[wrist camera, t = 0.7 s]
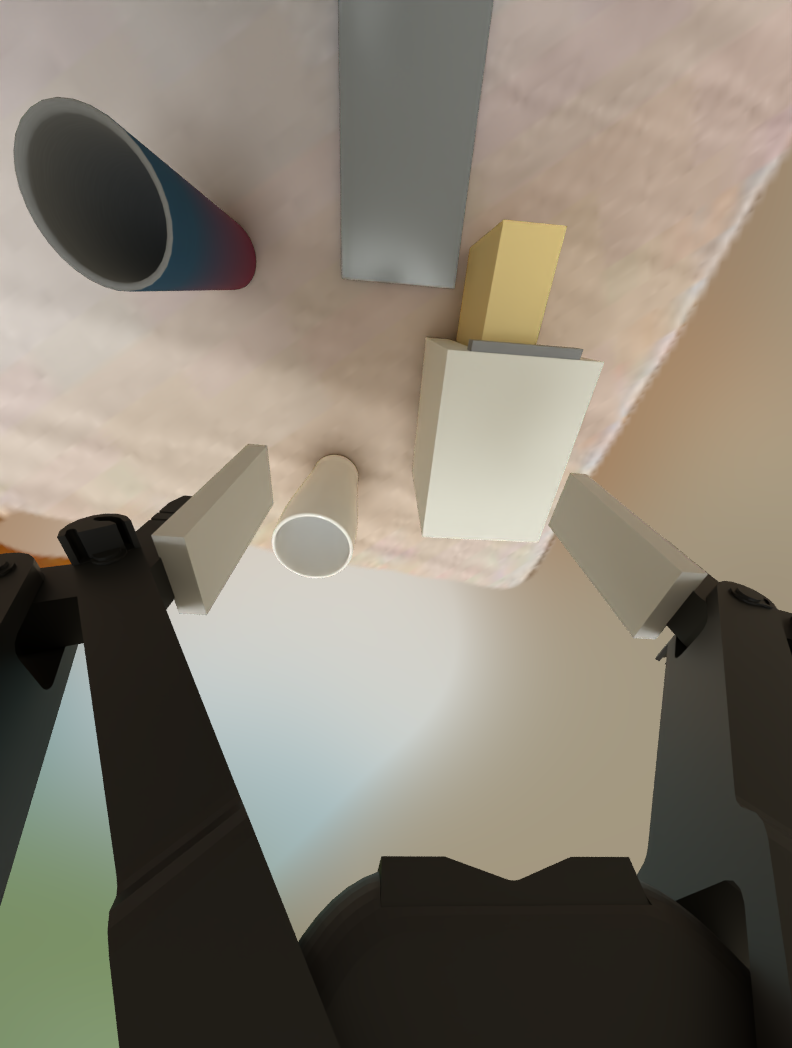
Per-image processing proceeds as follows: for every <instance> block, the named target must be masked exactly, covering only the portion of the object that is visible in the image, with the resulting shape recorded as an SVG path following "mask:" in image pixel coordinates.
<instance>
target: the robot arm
mask: <svg viewBox="0 0 792 1048" xmlns="http://www.w3.org/2000/svg"><path fill="white" fill-rule="evenodd" d="M273 504H274V503H273V494H272V485H271V476H270V467H269V458H268V449H267V446H266V445H254V444H248V445H247V446H245V447H244V448H243V449H242V450H241V451H240V452H239V453H238V454H237V455H236V456H235V457H234V458H233V459H232V460H231V461H230V462H228V463H227V464H226V465H225V466H224V467H223V468H222V469H221V470H220V471H219V472H218V473H217V474H216V475H215V476H214V477H213V478H211V479H210V480H209V481H208V482H207V483H206V484H205V485H204V486H203V487H202V488H201V489H200V490H199V491H198V492H197V493H195V494H194V495H193V496H182V497H180V498H178V499H176V500H174V501H172V502H169V503H168V504H167V505H166V506H165V507H164V508H162V509H161V510H160V511H159V513H157V514H156V515H154V516H153V517H152V518H151V520H149V521H148V522H146V523H145V524H144V525H143V526H142V527H141V528H139V529H138V530H137V531H136V532H135V530H134V527H133V525H132V522H131V520H130V519H129V518H128V517H127V516H124V515H120V514H100V515H93V516H89V517H86V518H82V519H79V520H77V521H75V522H73V523H70V524H68V525H67V526H65V527H64V528H63V529H62V530H60V531H59V534H58V536H57V538H58V540H59V541H60V543H61V545H62V547H63V549H64V551H65V553H66V554H67V556H68V558H69V560H70V562H71V564H70V565H62V566H54V567H46V568H40V567H39V566H38V564H37V562H36V561H35V559H34V558H33V557H32V556H30V555H29V554H25V553H6V554H0V905H1V902H2V898H3V895H4V891H5V888H6V884H7V881H8V878H9V875H10V872H11V868H12V865H13V861H14V858H15V854H16V851H17V848H18V844H19V841H20V838H21V834H22V831H23V828H24V824H25V821H26V818H27V814H28V811H29V807H30V804H31V800H32V797H33V794H34V790H35V788H36V784H37V781H38V777H39V774H40V771H41V767H42V764H43V760H44V757H45V754H46V750H47V747H48V744H49V740H50V737H51V733H52V730H53V727H54V724H55V720H56V717H57V714H58V710H59V707H60V704H61V700H62V697H63V693H64V690H65V686H66V683H67V680H68V677H69V673H70V670H71V667H72V663H73V659H74V656H75V653H76V650H77V646H78V644H81V643H84V647H85V655H86V662H87V670H88V677H89V684H90V691H91V697H92V705H93V711H94V719H95V726H96V733H97V740H98V747H99V754H100V762H101V768H102V775H103V783H104V790H105V797H106V804H107V811H108V817H109V825H110V833H111V840H112V847H113V854H114V861H115V868H116V876H117V896H116V899H115V901H114V903H113V905H112V907H111V909H110V911H109V921H108V945H109V960H110V969H111V978H112V986H113V995H114V1004H115V1012H116V1021H117V1031H118V1040H119V1048H792V613H788V612H785V611H781V610H778V609H777V608H776V607H775V605H774V604H773V603H772V602H771V601H770V600H769V599H767V598H766V597H765V596H763V595H762V594H760V593H758V592H757V591H755V590H753V589H750V588H748V587H746V586H744V585H741V584H737V583H734V582H728V581H722V582H718V581H717V580H715V579H714V578H713V577H711V575H709V574H708V573H707V572H706V571H704V570H703V569H702V568H701V567H700V566H698V565H697V564H696V563H695V562H693V561H692V560H691V559H690V558H688V557H687V556H686V555H685V554H683V553H682V552H681V551H679V550H678V548H676V547H675V546H674V545H673V544H671V543H670V542H669V541H667V540H666V539H665V538H664V537H662V536H661V535H660V534H659V533H657V532H656V531H655V530H654V529H653V528H651V527H650V526H649V525H648V524H647V523H645V522H644V521H643V520H642V519H640V518H639V517H638V516H637V515H635V514H634V513H633V512H632V511H631V510H629V509H628V508H627V507H626V506H624V505H623V504H622V503H621V502H619V501H618V500H617V499H616V498H615V497H613V496H612V495H611V494H610V493H608V492H607V491H606V490H605V489H604V488H602V487H601V486H600V485H599V484H598V483H596V482H595V481H594V480H593V479H591V478H590V477H589V476H588V475H587V474H576V473H570V474H569V477H568V479H567V481H566V484H565V486H564V489H563V491H562V493H561V496H560V498H559V501H558V503H557V505H556V508H555V510H554V513H553V515H552V517H551V520H550V522H549V527H550V528H551V529H552V531H553V532H554V533H555V535H556V536H557V537H558V539H559V540H560V541H561V543H562V544H563V545H564V546H565V548H566V549H567V550H568V552H569V553H570V554H571V556H572V557H573V558H574V560H575V561H576V562H577V564H578V565H579V566H580V568H581V569H582V570H583V572H584V573H585V574H586V576H587V577H588V578H589V580H590V581H591V582H592V584H593V585H594V586H595V588H596V589H597V590H598V592H599V593H600V594H601V596H602V597H603V598H604V599H605V601H606V602H607V604H608V605H609V606H610V607H611V609H612V610H613V612H614V613H615V614H616V616H617V617H618V618H619V620H620V621H621V622H622V624H623V625H624V626H625V627H626V629H627V630H628V631H629V633H630V634H631V635H632V637H633V638H645V639H656V638H657V637H658V636H659V634H660V633H661V632H662V631H663V629H664V628H665V627H666V626H668V627H669V628H670V629H671V631H672V632H673V633H674V634H675V635H674V636H673V637H672V639H671V640H670V641H669V642H668V643H667V644H666V646H665V647H664V648H663V649H662V650H661V652H660V653H659V654H658V655H657V657H656V660H658V661H660V660H661V658H663V657H667V660H666V663H665V664H666V669H665V679H664V690H663V701H662V710H661V720H660V731H659V741H658V751H657V761H656V771H655V781H654V791H653V801H652V802H653V803H652V812H651V823H650V833H649V843H648V850H647V855H646V858H645V862H644V864H643V865H642V867H641V869H640V871H639V873H638V874H637V875H636V872H635V870H634V868H633V866H632V863H631V861H630V859H629V857H570V858H567V859H565V860H563V861H561V862H559V863H556V864H554V865H552V866H549V867H547V868H545V869H543V870H540V871H538V872H536V873H533V874H531V875H529V876H527V877H525V878H522V879H520V880H516V881H511V880H507V879H504V878H501V877H499V876H496V875H493V874H491V873H488V872H485V871H482V870H480V869H477V868H474V867H471V866H468V865H466V864H463V863H461V862H458V861H455V860H452V859H450V858H447V857H402V856H401V857H400V856H399V857H397V856H396V857H395V856H394V857H393V856H391V857H390V856H388V857H387V856H383V857H381V860H380V864H379V868H378V872H376V873H374V874H372V875H369V876H367V877H364V878H362V879H361V880H359V881H357V882H356V883H354V884H352V885H351V886H349V887H347V888H346V889H345V890H344V891H342V892H341V893H340V894H339V895H338V896H336V897H335V898H334V899H333V900H332V901H331V902H330V903H329V904H328V905H327V906H326V907H325V908H324V909H323V910H322V911H321V912H320V914H319V915H318V916H317V917H316V918H315V920H314V921H313V922H312V923H311V925H310V926H309V927H308V929H307V930H306V932H305V933H304V934H303V935H302V937H301V939H300V940H299V942H298V941H297V938H296V936H295V933H294V931H293V928H292V926H291V923H290V921H289V918H288V915H287V913H286V910H285V908H284V905H283V903H282V901H281V898H280V895H279V893H278V890H277V888H276V885H275V883H274V880H273V878H272V875H271V873H270V870H269V868H268V865H267V862H266V860H265V858H264V855H263V853H262V850H261V847H260V845H259V842H258V840H257V837H256V835H255V832H254V830H253V827H252V825H251V822H250V820H249V817H248V815H247V812H246V810H245V807H244V805H243V802H242V800H241V798H240V795H239V793H238V790H237V788H236V785H235V783H234V780H233V778H232V775H231V773H230V770H229V767H228V765H227V762H226V760H225V758H224V755H223V753H222V750H221V748H220V745H219V742H218V740H217V737H216V735H215V732H214V730H213V727H212V725H211V723H210V719H209V717H208V715H207V712H206V709H205V707H204V704H203V702H202V700H201V697H200V694H199V692H198V689H197V687H196V684H195V682H194V679H193V677H192V674H191V672H190V669H189V667H188V664H187V661H186V659H185V656H184V654H183V652H182V649H181V646H180V644H179V641H178V639H177V636H176V634H175V631H174V629H173V626H172V624H171V621H170V619H169V616H168V614H167V611H166V609H167V608H168V607H169V605H170V604H171V602H172V601H173V600H175V603H176V606H177V609H178V611H179V613H180V614H197V615H207V614H208V612H209V611H210V609H211V607H212V605H213V604H214V602H215V600H216V599H217V597H218V595H219V594H220V592H221V590H222V589H223V587H224V585H225V584H226V582H227V580H228V579H229V577H230V575H231V574H232V572H233V570H234V569H235V567H236V565H237V564H238V562H239V560H240V559H241V557H242V555H243V554H244V552H245V550H246V549H247V547H248V545H249V544H250V542H251V540H252V539H253V537H254V535H255V534H256V532H257V530H258V529H259V527H260V525H261V524H262V522H263V520H264V519H265V517H266V515H267V514H268V512H269V510H270V509H271V507H272V505H273Z"/></svg>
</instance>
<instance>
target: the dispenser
mask: <svg viewBox="0 0 792 1048" xmlns="http://www.w3.org/2000/svg"><path fill="white" fill-rule="evenodd" d="M582 352H583V349H578V348H570V347H557V346H545V345H533V344H521V343H509V342H496V341H484V340H472V339H469V342H468V346H466V345H463V344H460V343H458V342H455V341H453V340H450V339H440V338H428V337H426V342H425V352H424V361H423V371H422V380H421V390H420V400H419V409H418V419H417V428H416V438H415V447H414V457H413V466H412V474H413V481H414V487H415V494H416V500H417V507H418V513H419V520H420V526H421V533H422V537H432V538H452V539H473V540H494V541H514V542H535V543H538V541H539V538H540V536H541V533H542V530H543V528H544V525H545V522H546V519H547V517H548V514H549V511H550V509H551V506H552V503H553V500H554V498H555V495H556V492H557V489H558V487H559V484H560V481H561V479H562V476H563V473H564V470H565V468H566V465H567V462H568V460H569V457H570V454H571V451H572V449H573V446H574V443H575V440H576V438H577V435H578V432H579V430H580V427H581V424H582V421H583V419H584V416H585V413H586V410H587V408H588V405H589V402H590V400H591V397H592V394H593V391H594V389H595V386H596V383H597V381H598V378H599V375H600V372H601V370H602V367H603V364H604V362H601V361H596V360H591V359H587V358H582V357H581V355H582Z"/></svg>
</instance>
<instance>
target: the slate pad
mask: <svg viewBox="0 0 792 1048" xmlns="http://www.w3.org/2000/svg"><path fill="white" fill-rule="evenodd" d="M492 7H493V0H338V15H339V95H340V176H341V256H342V279H347V280H358V281H369V282H381V283H392V284H403V285H414V286H425V287H436V288H447V289H454V288H455V281H456V273H457V266H458V258H459V251H460V244H461V236H462V229H463V221H464V214H465V207H466V199H467V192H468V184H469V177H470V170H471V162H472V155H473V147H474V140H475V133H476V125H477V118H478V110H479V103H480V96H481V88H482V81H483V73H484V66H485V59H486V51H487V44H488V36H489V29H490V22H491V14H492Z"/></svg>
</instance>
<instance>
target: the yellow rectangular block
mask: <svg viewBox="0 0 792 1048" xmlns="http://www.w3.org/2000/svg"><path fill="white" fill-rule="evenodd" d="M566 228H567V226H561V225H551V224H541V223H532V222H522V221H512V220H503V221H502V222H500V223H499V224H498V225H497V226H496V227H494V228H493V229H492V230H491V231H490V232H488V233H487V234H486V235H485V236H484V237H482V238H481V239H480V240H479V241H478V242H476V243H475V244H474V245H473V246H472V247H470V250H469V257H468V264H467V271H466V278H465V284H464V291H463V298H462V305H461V311H460V318H459V325H458V332H457V339H456V342H458V343H460V344H463V345H466V346H468V342H469V339H472V340H484V341H496V342H509V343H521V344H533V345H536V342H537V339H538V335H539V331H540V327H541V323H542V319H543V316H544V312H545V308H546V304H547V300H548V296H549V293H550V289H551V285H552V281H553V277H554V273H555V270H556V266H557V262H558V258H559V254H560V251H561V247H562V243H563V239H564V235H565V231H566Z"/></svg>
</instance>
